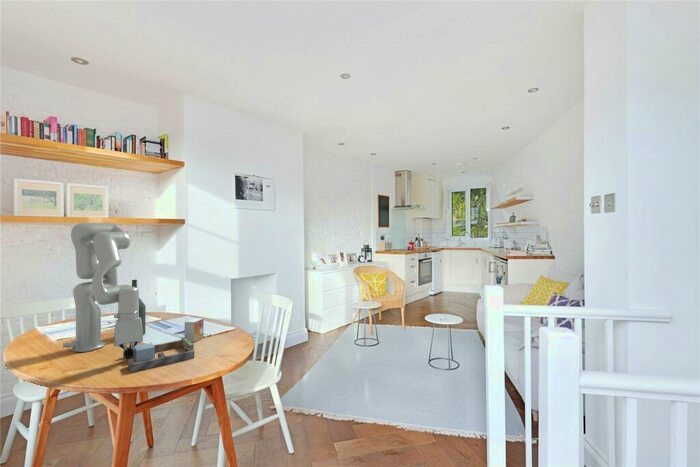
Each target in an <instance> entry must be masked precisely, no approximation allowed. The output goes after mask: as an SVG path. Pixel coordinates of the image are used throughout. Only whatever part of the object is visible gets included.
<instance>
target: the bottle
mask: <svg viewBox="0 0 700 467" xmlns="http://www.w3.org/2000/svg"><path fill="white" fill-rule="evenodd" d="M131 287H137V288H138V280H137V279H131ZM146 307H147V306H146V304H145V303H144V302H143V300H142V299H141V298H140V297H139V317H140V318H141V320H142V328H143V336H144V335H145V334H146V321H147V320H146V314H147V313H146V312H147V311H146V309H147V308H146Z"/></svg>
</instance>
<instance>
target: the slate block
mask: <svg viewBox="0 0 700 467" xmlns="http://www.w3.org/2000/svg"><path fill="white" fill-rule="evenodd" d="M154 345H155V344H153V343H152V342H149V343H144V344H137V345H136V346H135V347H134V348H133V349H134V357H133V358H134V361H135V363H137V362H141V361H146V360H151V359H155V358H156V356H155V355H156V352H155V347H154Z"/></svg>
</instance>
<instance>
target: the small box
mask: <svg viewBox="0 0 700 467" xmlns="http://www.w3.org/2000/svg"><path fill="white" fill-rule="evenodd" d="M184 337H185V338H186V339H188V340H189V341H190V342H191V343H192V344H194V343H196V342H198V341H201V340H202V339H204V318H203V317H202V318H200V317H194V318H191V319H189V320H186V321H184Z"/></svg>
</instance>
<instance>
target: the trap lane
mask: <svg viewBox="0 0 700 467" xmlns="http://www.w3.org/2000/svg"><path fill="white" fill-rule="evenodd" d="M153 345H154V347H155V353H157V357H155V358H153V359H148V360H144V361H139V362H136V361H135V359H134V348H133V355H132V356H131V358H129V359H127V360H128V361H127V367H128V369H129V371H130V373H135V372H138V371H144V370H147V369H153V368H156V367H161V366H164V365H169V364H173V363H178V362H181V361H186V360H187V361H188V360H191V359H195V349H194V348H195V347H194V346H195V344H194V343H191V342H190V341H189V340H188V339H186V338H185V336H184V337H181V338H180V339H178V340H173V341H169V342H163V343H158V344H153ZM178 348H183V349H184V352H179V353H175V354H169V355H165V354H164V352H165V351H168V350H173V349H178ZM163 351H164V352H163ZM122 356H123V357H122V358H123V360H124V359H126V357H124V350H123V351H122Z"/></svg>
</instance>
